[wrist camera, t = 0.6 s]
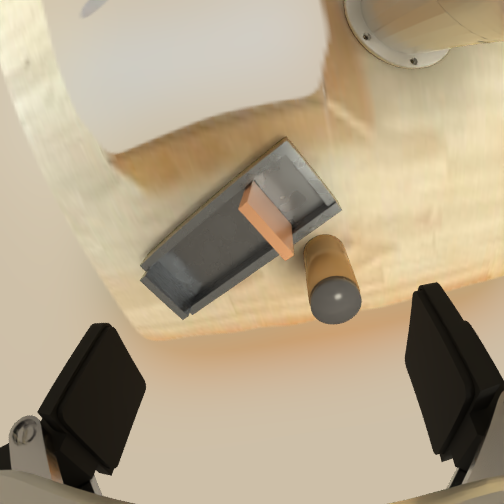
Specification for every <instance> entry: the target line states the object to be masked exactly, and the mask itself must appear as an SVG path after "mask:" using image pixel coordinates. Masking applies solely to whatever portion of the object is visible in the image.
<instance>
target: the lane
mask: <svg viewBox="0 0 504 504" xmlns="http://www.w3.org/2000/svg"><path fill="white" fill-rule="evenodd" d="M252 181H254V182H255V183H256V184H257V185H258V187H259V188H260V189H261V190H262V191H263V192H264V193H265V194H266V196H267V197H268V198H269V199H270V200H271V201H272V203H273V204H274V205H275V206H276V207H277V208H278V209H279V211H280V212H281V213H282V214H283V215H284V216H285V218H286V219H287V220H288V221H289V222H290V223H291V225H292V236H293V245H294V244H295V243H296V242H298V241H299V240H301V239H302V238H304V237H305V236H306V235H308V234H309V233H311V232H312V231H313V230H315V229H316V228H318V227H319V226H320V225H322V224H323V223H325V222H326V221H327V220H329V219H330V218H332V217H333V216H334V215H336V214H337V213H339V212H340V211H341V210H342V209H341V207H340V205H339V203H338V201H337V200H336V198H335V197H334V196H333V194H332V193H331V192H330V190H329V189H328V188H327V186H326V185H325V184H324V183H323V181H322V180H321V179H320V177H319V176H318V175H317V174H316V172H315V171H314V170H313V169H312V167H311V166H310V165H309V164H308V162H307V161H306V160H305V159H304V157H303V156H302V155H301V154H300V153H299V151H298V150H297V149H296V148H295V146H294V145H293V144H292V143H291V142H290V141H289V139H288V138H287V137H285V138H283V139H282V140H281V141H280V142H278V143H277V144H276V145H275V146H273V147H272V148H271V149H270V150H268V151H267V152H266V153H265V154H263V155H262V156H261V157H260V158H258V159H257V160H256V161H255V162H253V163H252V164H251V165H250V166H249V167H247V168H246V169H245V170H244V171H242V172H241V173H240V174H239V175H238V176H236V177H235V178H234V179H233V180H232V181H230V182H229V183H228V184H227V185H226V186H224V187H223V188H222V189H221V190H220V191H219V192H217V193H216V194H215V195H214V196H213V197H212V198H210V199H209V200H208V201H207V202H206V203H205V204H203V205H202V206H201V207H200V208H199V209H198V210H197V211H195V212H194V213H193V214H192V215H191V216H190V217H189V218H187V219H186V220H185V221H184V222H183V223H182V224H181V225H180V226H178V227H177V228H176V229H175V230H174V231H173V232H172V233H171V234H170V235H168V236H167V237H166V238H165V239H164V240H163V241H162V242H161V243H160V244H159V245H158V246H156V247H155V248H154V249H153V250H152V251H151V252H150V253H149V254H148V255H147V257H146V258H145V259H144V261H143V262H142V263H141V265H140V266H141V267H142V268H143V269H144V270H145V271H146V272H145V273H144V275H143V277H142V278H141V280H140V281H141V282H142V283H143V284H144V285H145V286H146V287H147V288H148V289H149V290H151V291H152V292H153V293H154V294H155V295H156V296H157V297H158V298H159V299H160V300H161V301H162V302H164V303H165V304H166V305H167V306H168V307H169V308H170V309H171V310H172V311H173V312H175V313H176V314H177V315H178V316H179V317H180V318H181V319H182V320H183V319H185V318H186V317H188V316H189V313H191V314H192V315H193V314H195V313H196V312H197V311H199V310H200V309H202V308H203V307H205V306H206V305H208V304H209V303H211V302H212V301H213V300H215V299H216V298H218V297H219V296H221V295H222V294H224V293H225V292H227V291H228V290H229V289H231V288H232V287H234V286H235V285H237V284H238V283H239V282H241V281H242V280H244V279H245V278H247V277H248V276H250V275H251V274H252V273H254V272H255V271H257V270H258V269H260V268H261V267H262V266H264V265H265V264H267V263H268V262H270V261H271V260H272V259H274V258H275V257H277V256H278V255H279V254H278V252H277V251H276V250H275V249H274V248H273V247H272V246H271V245H270V244H269V242H268V241H267V240H266V239H265V238H264V237H263V236H262V235H261V234H260V233H259V231H258V230H257V229H256V228H255V227H254V226H253V225H252V224H251V223H250V222H249V220H248V219H247V218H246V217H245V216H244V215H243V214H242V213H241V212H240V211H239V210H238V208H239V205H240V202H241V199H242V196H243V193H244V190H245V187H246V186H247V185H248V184H249V183H251V182H252Z"/></svg>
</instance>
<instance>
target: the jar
mask: <svg viewBox="0 0 504 504" xmlns="http://www.w3.org/2000/svg"><path fill="white" fill-rule="evenodd" d="M303 256H304V264H305V272H306V280H307V288H308V297H309V303H310V306H311V311H312V313H313V315H314V316H315V318H316V319H318V320H319V321H321V322H323V323H326V324H340V323H344V322H346V321H348V320H350V319H351V318H353V316H355V315H356V314H357V312H358V311H359V309H360V307H361V295H360V289H359V286H358V283H357V281H356V278H355V275H354V272H353V269H352V267H351V264H350V261H349V259H348V256H347V253H346V251H345V248H344V245H343V244H342V242H341V241H340V240H339V239H338V238H336V237H335V236H332V235H319V236H316V237H314V238H312V239H311V240H310V241H309V242H308V243H307V244H306V246H305V248H304V253H303Z"/></svg>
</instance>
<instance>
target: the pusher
mask: <svg viewBox="0 0 504 504" xmlns="http://www.w3.org/2000/svg"><path fill="white" fill-rule="evenodd" d="M238 210H239V211H240V212H241V213H242V214H243V215H244V216H245V217H246V218H247V219H248V220H249V222H250V223H251V224H252V225H253V226H254V227H255V228H256V229H257V230H258V231H259V233H260V234H261V235H262V236H263V237H264V238H265V239H266V240H267V241H268V242H269V244H270V245H271V246H272V247H273V248H274V249H275V250H276V251H277V252H278V254H279V255H280V256H281V257H282V258H283V259H284V260H285V261H286V260H288V259H289V258H290V257H292V256H293V255H294V248H293V236H292V225H291V223H290V222H289V221H288V220H287V219H286V218H285V216H284V215H283V214H282V213H281V212H280V211H279V209H278V208H277V207H276V206H275V205H274V204H273V203H272V201H271V200H270V199H269V198H268V197H267V196H266V194H265V193H264V192H263V191H262V190H261V189H260V188H259V187H258V185H257V184H256V183H255V182H254V181H252V182H251V183H249V184H248V185H247V186H246V187H245V190H244V193H243V196H242V199H241V202H240V205H239V208H238Z"/></svg>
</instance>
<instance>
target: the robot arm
mask: <svg viewBox="0 0 504 504" xmlns="http://www.w3.org/2000/svg"><path fill="white" fill-rule="evenodd" d="M344 9H345V15H346V18H347V21H348V24H349V26H350V28H351V30H352V32H353V34H354V35H355V36H356V38H357V39H358V40H359V42H360V43H361V44H362V45H363V46H364V47H365V48H366V49H367V50H368V51H369V52H370V53H372V54H373V55H375V56H376V57H377V58H379V59H381V60H383V61H384V62H386V63H388V64H391V65H394V66H397V67H401V68H408V69H417V68H425V67H429V66H431V65H434V64H436V63H437V62H439V61H440V60H442V59H443V58H444V57H445V56H446V54H447V53H448V52H449V50H450V48H454V47H461V46H467V45H474V44H482V43H490V42H500V41H504V0H344ZM363 36H366V37H367V40H365V39H364V38H363ZM410 60H412V62H413V63H412V64H411V62H410ZM405 364H406V368H407V371H408V374H409V376H410V379H411V382H412V385H413V388H414V391H415V394H416V397H417V400H418V403H419V406H420V409H421V412H422V415H423V418H424V422H425V424H426V428H427V431H428V435H429V438H430V442H431V445H432V449H433V452H434V453H435V454H436V455H437V454H440V457H441V461H442V462H443V461H446V460H449V459H452V458H453V460H454V464H455V467H457V469H456V471H455V473H454V475H453V477H452V479H451V481H450V483H449V485H448V487H447V489H445V490H441V491H437V492H433V493H430V494H426V495H423V496H419V497H415V498H411V499H407V500H403V501H398V502H394V503H389V504H504V380H503V378H502V377H501V375H500V373H499V371H498V369H497V368H496V366H495V364H494V362H493V361H492V359H491V358H490V356H489V354H488V352H487V351H486V349H485V347H484V345H483V344H482V342H481V340H480V339H479V337H478V336H477V334H476V332H475V331H474V329H473V328H472V326H471V325H470V324H469V322H467V321H464V320H463V319H462V317H461V316H460V314H459V312H458V311H457V309H456V308H455V306H454V305H453V303H452V302H451V300H450V299H449V297H448V296H447V295H446V293H445V292H444V290H443V289H442V287H441V286H440V284H439V283H437V282H436V283H430V284H425V285H420V286H419V288H418V291H415V292H414V293H413V297H412V308H411V316H410V325H409V333H408V340H407V346H406V353H405ZM145 390H146V383H145V380H144V379H143V377H142V375H141V374H140V372H139V370H138V368H137V367H136V365H135V363H134V362H133V360H132V358H131V356H130V355H129V353H128V351H127V349H126V347H125V345H124V344H123V342H122V340H121V338H120V336H119V334H118V333H117V331H116V329H115V328H114V327H112V326H111V325H110V324H109V323H95V324H92V325H91V326H90V328H89V329H88V331H87V332H86V334H85V335H84V337H83V338H82V340H81V341H80V343H79V345H78V346H77V347H76V349H75V351H74V352H73V354H72V355H71V357H70V359H69V360H68V362H67V363H66V365H65V366H64V368H63V370H62V371H61V373H60V374H59V376H58V378H57V379H56V381H55V383H54V384H53V386H52V388H51V389H50V391H49V393H48V394H47V396H46V398H45V400H44V401H43V403H42V405H41V406H40V408H39V410H38V413H39V415H40V416H41V417H42V420H41V421H40V420H39V419H38V418H37V417H35V416H25V417H22V418H21V419H20V420H18V421H17V422H16V423H15V424H14V425H13V427H12V428H11V430H10V433H9V443H8V444H6V445H4V446H2V447H0V504H134V503H129V502H125V501H121V500H116V499H112V498H108V497H104V496H102V493H101V491H100V489H99V486H98V483H97V481H96V478H95V476H94V473H95V470H97V471H98V472H99V473H102V474H107V475H112V473H113V470H114V468H116V467H117V466H118V464H119V461H120V458H121V456H122V453H123V450H124V447H125V444H126V442H127V439H128V436H129V433H130V430H131V428H132V425H133V422H134V420H135V417H136V414H137V411H138V408H139V406H140V403H141V401H142V398H143V396H144V393H145Z"/></svg>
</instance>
